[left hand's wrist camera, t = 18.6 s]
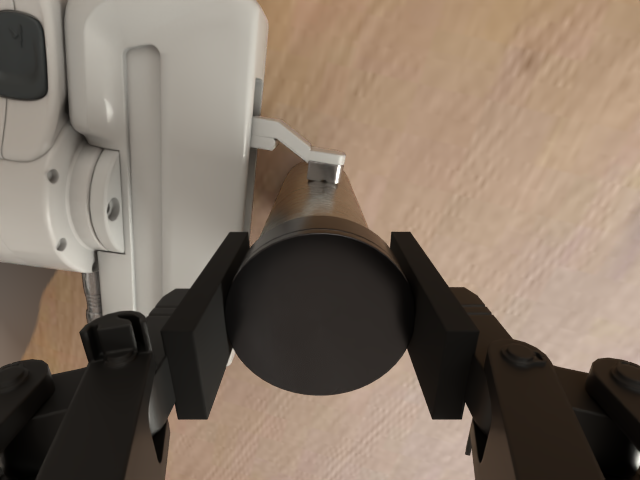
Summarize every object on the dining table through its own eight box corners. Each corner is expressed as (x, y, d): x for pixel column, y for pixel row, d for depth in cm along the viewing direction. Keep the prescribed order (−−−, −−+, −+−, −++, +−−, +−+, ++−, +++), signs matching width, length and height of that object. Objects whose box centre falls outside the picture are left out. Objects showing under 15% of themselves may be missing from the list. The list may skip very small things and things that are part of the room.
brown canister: (270, 206, 26) (216, 325, 12) (302, 145, 24) (281, 200, 10) (330, 237, 27) (342, 380, 13) (364, 179, 25) (420, 273, 11)
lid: (431, 244, 11) (449, 266, 10) (368, 377, 13) (375, 413, 12) (259, 191, 11) (249, 206, 9) (220, 339, 13) (206, 371, 11)
